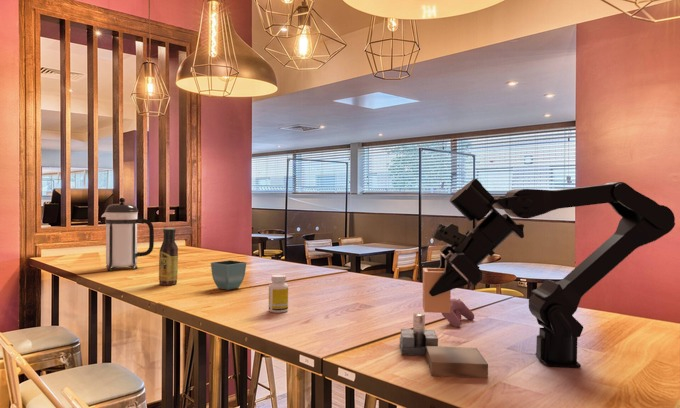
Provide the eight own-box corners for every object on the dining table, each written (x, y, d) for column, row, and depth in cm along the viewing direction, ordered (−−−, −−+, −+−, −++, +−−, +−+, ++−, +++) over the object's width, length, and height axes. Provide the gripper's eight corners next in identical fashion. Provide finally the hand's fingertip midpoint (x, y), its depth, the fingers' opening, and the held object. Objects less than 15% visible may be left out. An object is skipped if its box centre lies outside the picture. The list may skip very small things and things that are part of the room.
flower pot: (229, 284, 166) (230, 259, 166) (247, 288, 161) (247, 262, 160) (209, 288, 159) (209, 262, 158) (227, 292, 154) (227, 265, 153)
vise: (434, 345, 102) (435, 311, 102) (439, 356, 95) (439, 319, 95) (399, 343, 102) (400, 310, 102) (401, 354, 95) (402, 318, 95)
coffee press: (123, 272, 188) (123, 198, 187) (93, 269, 193) (93, 197, 193) (154, 266, 204) (155, 198, 203) (126, 264, 209) (126, 197, 209)
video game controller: (462, 323, 125) (451, 298, 127) (476, 318, 123) (466, 293, 125) (445, 331, 118) (434, 305, 120) (460, 326, 115) (449, 299, 117)
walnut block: (476, 360, 93) (477, 347, 93) (487, 377, 84) (488, 364, 84) (426, 358, 94) (426, 346, 94) (431, 375, 85) (431, 362, 85)
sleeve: (447, 306, 96) (447, 268, 96) (450, 312, 91) (450, 272, 91) (422, 306, 97) (422, 267, 97) (424, 312, 92) (424, 271, 92)
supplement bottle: (292, 310, 130) (292, 275, 130) (276, 314, 126) (277, 278, 126) (279, 307, 134) (279, 273, 134) (264, 310, 130) (264, 275, 130)
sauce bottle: (156, 283, 166) (156, 228, 165) (173, 281, 170) (173, 227, 169) (163, 286, 161) (163, 229, 160) (180, 284, 165) (181, 228, 165)
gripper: (450, 207, 103) (399, 257, 104) (464, 210, 84) (402, 270, 85) (486, 243, 102) (435, 293, 103) (509, 254, 83) (446, 314, 85)
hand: (429, 291), depth 94 cm, fingers closed on sleeve, 5 cm apart
